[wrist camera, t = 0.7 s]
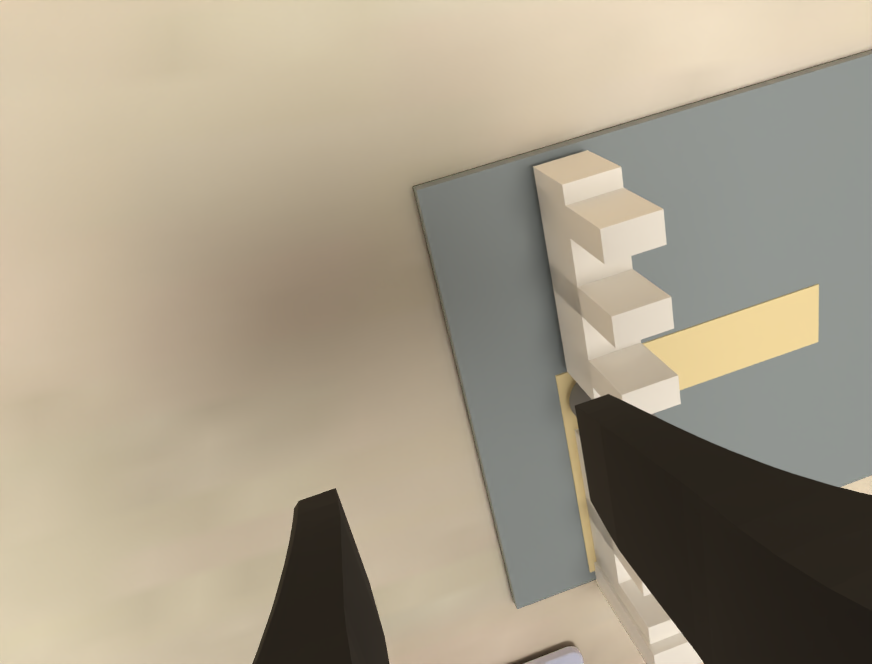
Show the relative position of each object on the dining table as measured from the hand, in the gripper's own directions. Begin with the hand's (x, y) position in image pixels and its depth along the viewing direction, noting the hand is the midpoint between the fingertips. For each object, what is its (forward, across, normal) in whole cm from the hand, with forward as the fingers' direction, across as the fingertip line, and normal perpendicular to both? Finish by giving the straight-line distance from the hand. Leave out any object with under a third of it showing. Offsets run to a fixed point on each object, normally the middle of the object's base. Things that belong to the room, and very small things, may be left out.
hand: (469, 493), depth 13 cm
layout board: (+10, -10, +6) cm, 15 cm away
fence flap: (+10, -6, +3) cm, 12 cm away
